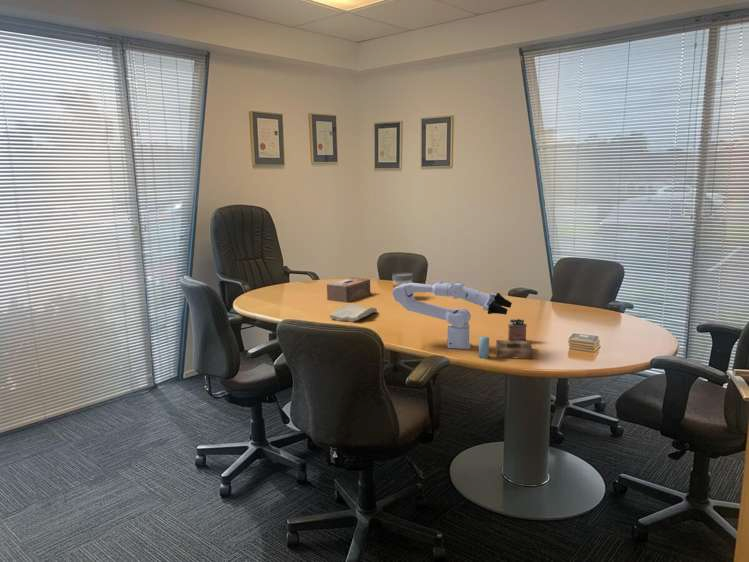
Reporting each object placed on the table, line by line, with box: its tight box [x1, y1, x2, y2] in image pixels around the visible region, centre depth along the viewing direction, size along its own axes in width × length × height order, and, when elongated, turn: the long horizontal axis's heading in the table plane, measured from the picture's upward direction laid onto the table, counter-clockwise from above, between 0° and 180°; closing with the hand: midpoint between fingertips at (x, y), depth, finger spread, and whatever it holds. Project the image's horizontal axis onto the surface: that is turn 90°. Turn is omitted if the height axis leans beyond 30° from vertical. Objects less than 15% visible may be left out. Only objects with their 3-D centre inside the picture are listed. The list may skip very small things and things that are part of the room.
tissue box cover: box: [326, 277, 371, 304], centre depth 336 cm, size 26×14×10 cm, turn 146°
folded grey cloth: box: [329, 303, 378, 323], centre depth 289 cm, size 24×8×20 cm
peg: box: [478, 336, 490, 359], centre depth 218 cm, size 4×4×8 cm
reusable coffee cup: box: [391, 272, 414, 290], centre depth 327 cm, size 13×13×15 cm
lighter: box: [507, 318, 527, 341], centre depth 238 cm, size 8×3×10 cm, turn 92°
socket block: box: [495, 339, 534, 359], centre depth 223 cm, size 14×14×3 cm
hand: (509, 308), depth 222 cm, fingers open, 7 cm apart
